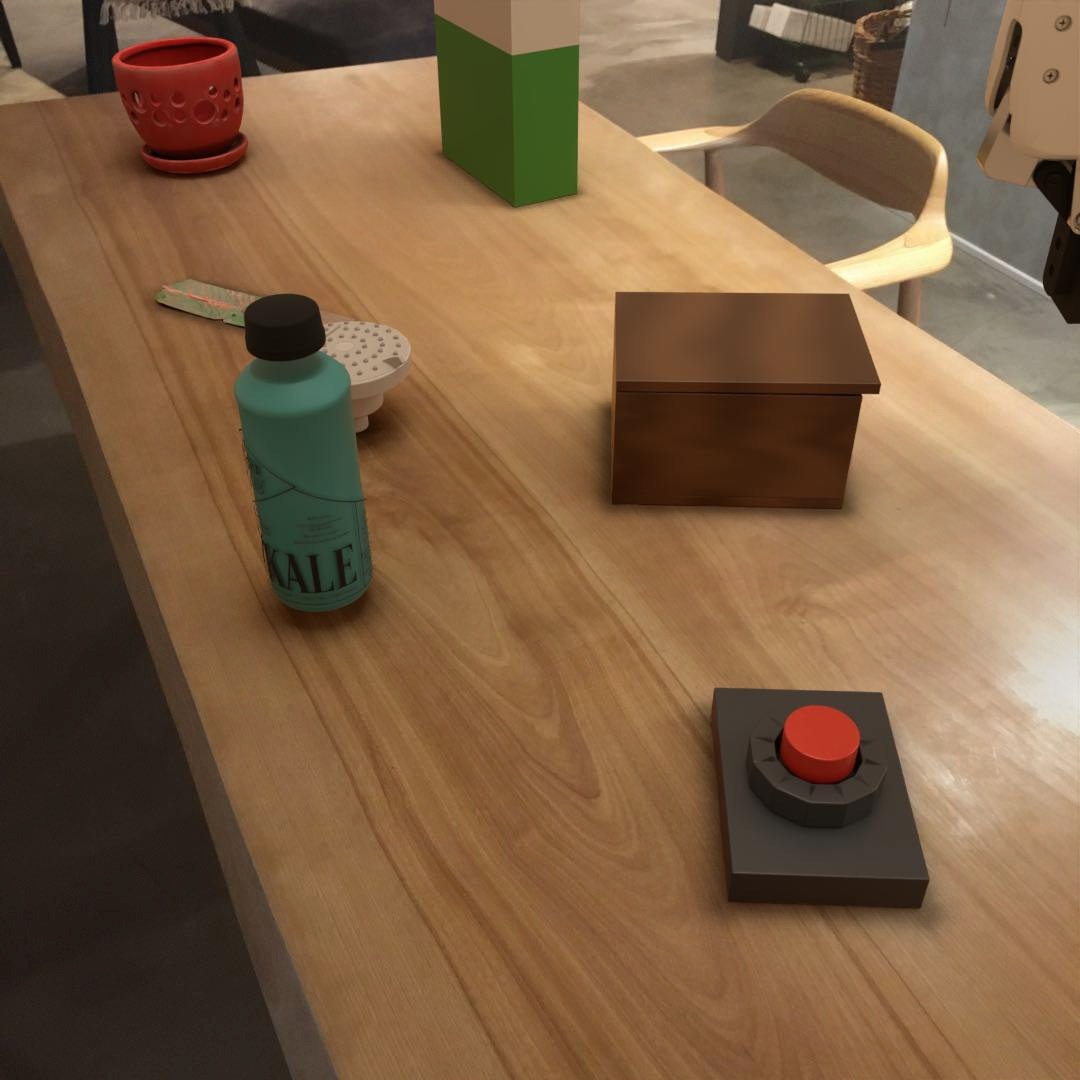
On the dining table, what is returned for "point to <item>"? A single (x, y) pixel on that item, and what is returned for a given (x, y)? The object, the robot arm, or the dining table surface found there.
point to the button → (819, 744)
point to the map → (218, 302)
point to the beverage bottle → (303, 457)
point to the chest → (731, 447)
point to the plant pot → (184, 102)
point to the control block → (813, 808)
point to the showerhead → (368, 362)
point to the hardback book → (511, 93)
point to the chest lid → (741, 343)
